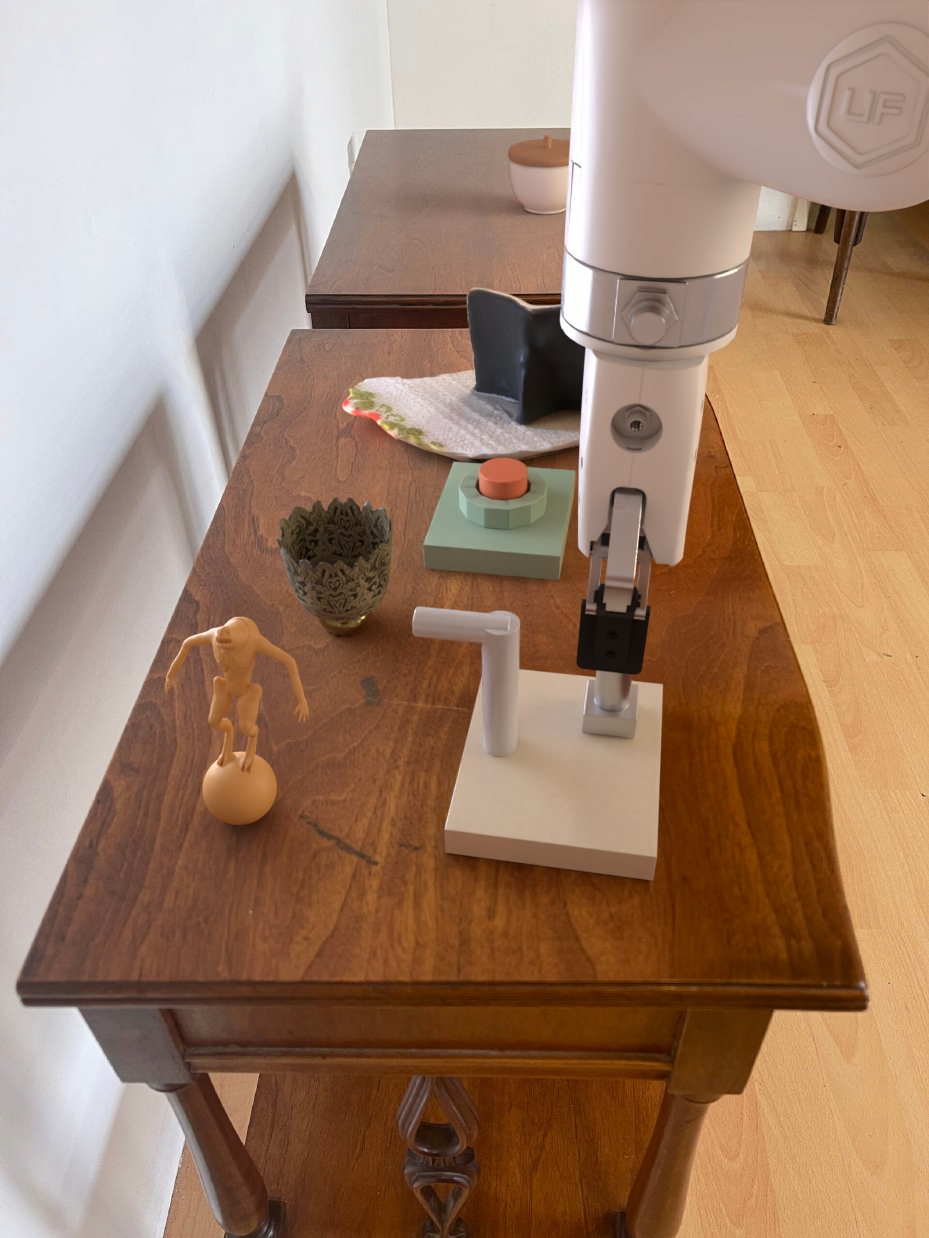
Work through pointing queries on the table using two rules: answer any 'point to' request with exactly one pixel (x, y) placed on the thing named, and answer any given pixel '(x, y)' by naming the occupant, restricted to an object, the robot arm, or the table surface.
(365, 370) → the table surface
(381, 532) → the cup
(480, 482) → the button
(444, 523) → the button block
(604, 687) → the tap lever
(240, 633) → the figurine
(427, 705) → the table surface
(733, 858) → the table surface
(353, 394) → the religious ornament
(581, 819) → the tap base
